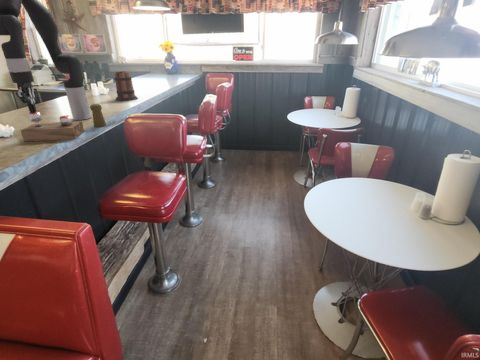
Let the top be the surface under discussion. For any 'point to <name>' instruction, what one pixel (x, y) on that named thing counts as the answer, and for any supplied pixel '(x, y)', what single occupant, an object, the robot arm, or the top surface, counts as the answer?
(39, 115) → the knob
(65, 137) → the console
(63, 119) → the knob
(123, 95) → the tankard
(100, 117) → the cork
